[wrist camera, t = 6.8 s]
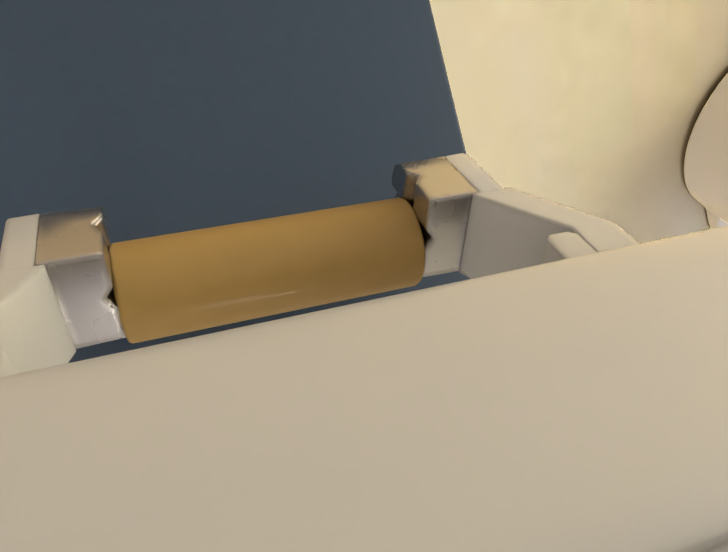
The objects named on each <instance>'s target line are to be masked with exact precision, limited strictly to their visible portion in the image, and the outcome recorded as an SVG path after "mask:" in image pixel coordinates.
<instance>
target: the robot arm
mask: <svg viewBox="0 0 728 552" xmlns="http://www.w3.org/2000/svg"><path fill="white" fill-rule="evenodd" d="M684 179H685V183H686V186H687V189H688V191H689V193H690V194H691V195H692V197H693V198H694V199H696V200H697V201H698V202H699V203H701V204H702V205H703V206H704V207H705V208H706V210H707V218H708V223H709V226H710V227H711V228H712V229H707V230H703V231H698V232H693V233H688V234H683V235H679V236H674V237H669V238H664V239H659V240H655V241H650V242H645V243H640V244H639V243H638V242H637V241H636V240H635V239H633V238H632V237H631V236H630V235H629V234H628V233H626V232H625V231H624V230H623V229H622V228H620V227H619V226H618V225H617V224H616V223H614V222H613V221H610V220H607V219H604V218H601V217H598V216H595V215H592V214H589V213H585V212H582V211H579V210H576V209H573V208H570V207H567V206H564V205H561V204H558V203H555V202H552V201H549V200H546V199H543V198H539V197H536V196H533V195H530V194H527V193H524V192H521V191H518V190H515V189H512V188H504V189H502V188H501V187H500V186H499V185H498V184H497V183H496V182H495V181H494V180H493V179H492V178H491V177H490V176H489V175H488V174H487V173H486V172H485V171H484V170H483V169H482V168H481V167H480V166H479V165H478V164H477V163H476V162H475V161H474V160H473V159H472V158H471V157H470V156H469V155H467V154H464V153H459V154H454V155H449V156H442V157H437V158H431V159H425V160H419V161H413V162H407V163H401V164H397V165H395V167H394V170H393V174H392V185H393V187H394V188H395V189H396V191H397V192H398V193H397V194H396V196H395V197H394V198H402V199H405V200H406V201H408V202H409V203H410V205H411V206H412V208H413V210H414V212H415V214H416V216H417V218H418V220H419V223H420V226H421V230H422V234H423V239H424V246H425V268H424V273H423V277H427V276H433V275H438V274H444V273H450V272H456V271H460V273H461V274H463V275H465V276H467V277H468V278H470V279H468V280H463V281H459V282H454V283H449V284H444V285H440V286H435V287H430V288H425V289H420V290H416V291H411V292H406V293H401V294H397V295H392V296H387V297H382V298H378V299H373V300H368V301H363V302H358V303H354V304H349V305H344V306H339V307H335V308H330V309H325V310H320V311H315V312H311V313H306V314H301V315H296V316H292V317H287V318H282V319H277V320H272V321H268V322H263V323H258V324H253V325H249V326H244V327H239V328H234V329H229V330H225V331H220V332H215V333H210V334H206V335H201V336H196V337H191V338H186V339H182V340H177V341H172V342H167V343H163V344H158V345H153V346H148V347H143V348H139V349H134V350H129V351H124V352H120V353H115V354H110V355H105V356H100V357H96V358H91V359H86V360H81V361H76V362H72V363H69V361H70V360H71V358H72V357H73V355H74V354H75V352H76V349H78V348H82V347H86V346H91V345H95V344H100V343H104V342H108V341H113V340H117V339H121V338H126V335H125V333H124V331H123V328H122V325H121V321H120V317H119V308H118V306H117V304H116V300H115V295H114V290H113V283H112V268H111V260H110V256H109V248H110V232H109V225H108V222H107V218H106V215H105V212H104V209H103V207H102V206H99V207H91V208H83V209H75V210H67V211H59V212H51V213H43V214H41V215H40V214H33V215H27V216H20V217H14V218H9V219H8V220H7V221H6V223H5V229H4V234H3V240H2V245H1V251H0V552H728V73H727V74H726V75H725V76H724V78H723V79H722V80H721V82H720V83H719V84H718V86H717V87H716V88H715V90H714V91H713V93H712V94H711V96H710V97H709V99H708V101H707V102H706V104H705V106H704V107H703V109H702V111H701V113H700V115H699V117H698V119H697V121H696V123H695V125H694V128H693V130H692V133H691V135H690V138H689V141H688V145H687V148H686V153H685V159H684Z"/></svg>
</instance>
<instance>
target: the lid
mask: <svg viewBox="0 0 728 552" xmlns="http://www.w3.org/2000/svg"><path fill="white" fill-rule="evenodd" d="M459 153H464V154H466V151H465V147H464V143H463V139H462V134H461V130H460V126H459V122H458V118H457V114H456V110H455V105H454V101H453V97H452V93H451V89H450V85H449V81H448V76H447V72H446V68H445V64H444V60H443V56H442V52H441V47H440V43H439V39H438V35H437V31H436V27H435V23H434V18H433V14H432V10H431V6H430V2H429V0H0V251H1V245H2V240H3V234H4V229H5V223H6V221H7V220H8V219H9V218H14V217H20V216H27V215H33V214H40V215H41V214H43V213H51V212H59V211H67V210H75V209H83V208H91V207H99V206H102V207H103V209H104V212H105V215H106V218H107V222H108V225H109V232H110V248H109V256H110V260H111V268H112V283H113V290H114V295H115V300H116V304H117V306H118V308H119V317H120V321H121V325H122V328H123V331H124V333H125V335H126V338H121V339H117V340H113V341H108V342H104V343H100V344H95V345H91V346H86V347H82V348H78V349H76V352H75V354H74V355H73V357H72V358H71V360H70V361H69V363H72V362H76V361H81V360H86V359H91V358H96V357H100V356H105V355H110V354H115V353H120V352H124V351H129V350H134V349H139V348H143V347H148V346H153V345H158V344H163V343H167V342H172V341H177V340H182V339H186V338H191V337H196V336H201V335H206V334H210V333H215V332H220V331H225V330H229V329H234V328H239V327H244V326H249V325H253V324H258V323H263V322H268V321H272V320H277V319H282V318H287V317H292V316H296V315H301V314H306V313H311V312H315V311H320V310H325V309H330V308H335V307H339V306H344V305H349V304H354V303H358V302H363V301H368V300H373V299H378V298H382V297H387V296H392V295H397V294H401V293H406V292H411V291H416V290H420V289H425V288H430V287H435V286H440V285H444V284H449V283H454V282H459V281H463V280H468V279H470V278H468V277H467V276H465V275H463V274H461V273H460V271H456V272H450V273H444V274H438V275H433V276H427V277H423V273H424V268H425V246H424V239H423V234H422V230H421V226H420V223H419V220H418V218H417V216H416V214H415V212H414V210H413V208H412V206H411V205H410V203H409V202H408V201H406V200H405V199H402V198H394V197H395V196H396V194H397V193H398V192H397V191H396V189H395V188H394V187H393V185H392V174H393V170H394V167H395V165H397V164H401V163H407V162H413V161H419V160H425V159H431V158H437V157H442V156H449V155H454V154H459Z"/></svg>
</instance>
